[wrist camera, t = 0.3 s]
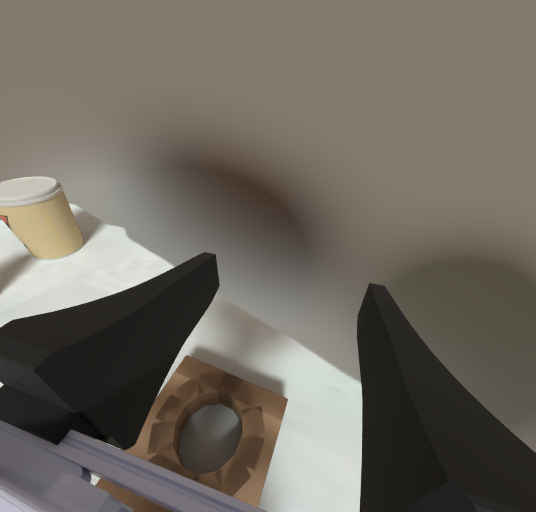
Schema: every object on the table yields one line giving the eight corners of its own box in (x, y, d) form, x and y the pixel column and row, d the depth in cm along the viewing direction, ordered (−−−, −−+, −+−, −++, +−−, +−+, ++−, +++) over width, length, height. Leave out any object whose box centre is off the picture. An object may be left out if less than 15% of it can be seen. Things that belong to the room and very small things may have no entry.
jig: (218, 644, 15) (215, 658, 13) (78, 539, 18) (59, 537, 16) (284, 410, 25) (288, 399, 23) (190, 368, 28) (186, 355, 26)
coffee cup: (35, 238, 46) (-5, 178, 38) (91, 230, 49) (64, 173, 42) (19, 268, 39) (-33, 202, 32) (85, 256, 43) (52, 194, 35)
